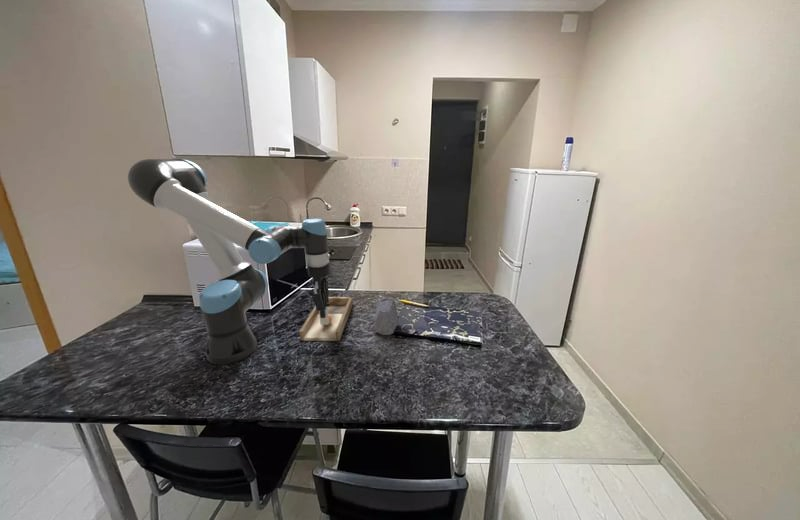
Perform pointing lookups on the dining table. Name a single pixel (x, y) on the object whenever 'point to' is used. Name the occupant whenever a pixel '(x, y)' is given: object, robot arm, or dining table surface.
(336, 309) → the tray
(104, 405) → the dining table surface
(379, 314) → the stone
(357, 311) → the dining table surface
